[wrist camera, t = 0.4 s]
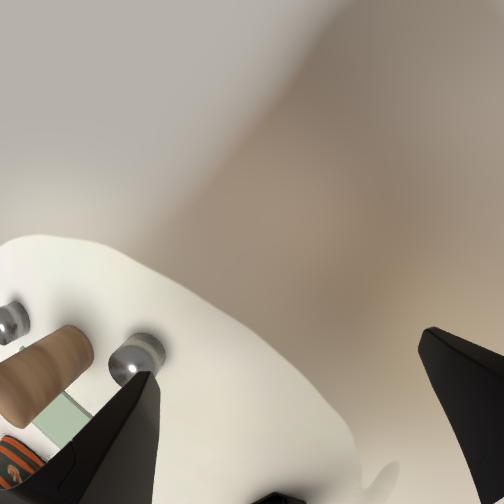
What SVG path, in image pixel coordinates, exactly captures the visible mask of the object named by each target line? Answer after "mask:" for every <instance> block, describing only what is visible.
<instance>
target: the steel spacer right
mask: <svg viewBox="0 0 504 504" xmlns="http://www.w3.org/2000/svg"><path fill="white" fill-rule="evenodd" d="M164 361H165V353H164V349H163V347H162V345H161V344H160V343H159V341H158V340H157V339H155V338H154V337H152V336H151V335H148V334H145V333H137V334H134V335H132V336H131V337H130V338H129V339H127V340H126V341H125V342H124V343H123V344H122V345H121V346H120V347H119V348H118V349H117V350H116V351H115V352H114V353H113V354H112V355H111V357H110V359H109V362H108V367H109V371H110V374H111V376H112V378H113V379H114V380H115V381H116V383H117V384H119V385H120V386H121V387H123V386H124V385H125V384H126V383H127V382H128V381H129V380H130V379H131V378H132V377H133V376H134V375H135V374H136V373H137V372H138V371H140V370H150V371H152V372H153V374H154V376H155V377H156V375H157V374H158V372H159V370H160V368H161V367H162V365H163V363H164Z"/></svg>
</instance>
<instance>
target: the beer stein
mask: <svg viewBox="0 0 504 504" xmlns="http://www.w3.org/2000/svg"><path fill="white" fill-rule="evenodd" d="M44 464H45V463H44V462H43V461H42V460H40V459H39V458H38V457H37V456H36V455H35V454H34V453H33V452H32V451H31V450H29V449H28V448H27V447H25V446H24V445H23V444H22V443H20V442H19V441H17V440H15V439H13V438H10V437H3V438H2V440H1V441H0V490H1V489H9V488H12V487H15V486H17V485H18V484H20V483H21V482H23V481H24V480H25V479H27V478H28V477H29V476H30V475H32V474H33V473H34V472H36V471H37V470H38V469H39V468H41V467H42V466H43V465H44Z"/></svg>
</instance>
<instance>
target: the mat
mask: <svg viewBox="0 0 504 504" xmlns="http://www.w3.org/2000/svg"><path fill="white" fill-rule="evenodd" d="M23 349H25V348H24V347H23V346H22V347H21V348H20V349H19V352H20V351H21V350H23ZM91 419H92V416H91V415H90V414H89V413H87V412H86V411H85V410H84V409H83V408H82V407H81V406H79V405H78V404H77V403H76V402H75V401H74V400H73V399H72V398H71V397H70V396H69V395H67V394H66V393H65V392H64V391H63V392H62V393H61V394H60V395H59V396H58V397H57V398H56V399H54V400H53V401H52V402H51V403H50V404H49V405H48V406H47V407H46V408H45V409H44V410H43V411H42V412H41V413H40V414H39V415H38V416H37V417H36V418H35V419H34V420H33V421H32V423H33V424H34V425H35V426H36V427H37V428H38V429H39V430H40V431H41V432H42V433H43V434H44V435H45V436H46V437H48V438H49V439H50V440H51V441H52V442H53V443H54V444H55V445H56V446H58V447H59V448H60V449H62V448H63V447H64V446H65V445H66V444H67V443H68V442H69V441H70V440H71V441H72V438H73V437H74V436H75V435H76V434H77V433H78V432H79V431H80V430H81V429H82V428H83V427H84V426H85V425H86V424H87V423H88V422H89V421H90V420H91Z"/></svg>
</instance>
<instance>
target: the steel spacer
mask: <svg viewBox="0 0 504 504" xmlns="http://www.w3.org/2000/svg"><path fill="white" fill-rule="evenodd" d="M29 328H30V322H29V318H28V315H27V312H26V310H25V309H24V307H23V306H22V305H21V304H20V303H18V302H13V303H10V304H8V305H5V306H2V307H0V344H1V345H6V344H8V343H10V342H12V341H14V340H16V339H18V338H20V337H22V336H24V335H26V334H27V333H28V332H29Z"/></svg>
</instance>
